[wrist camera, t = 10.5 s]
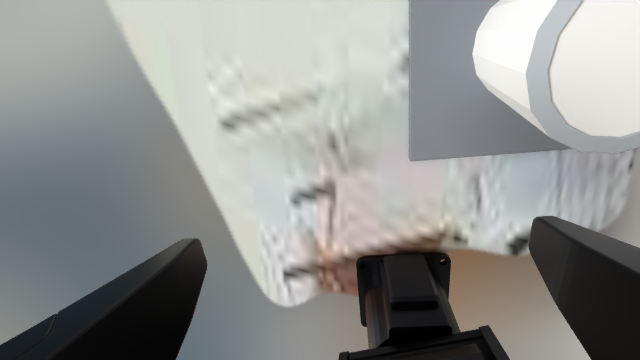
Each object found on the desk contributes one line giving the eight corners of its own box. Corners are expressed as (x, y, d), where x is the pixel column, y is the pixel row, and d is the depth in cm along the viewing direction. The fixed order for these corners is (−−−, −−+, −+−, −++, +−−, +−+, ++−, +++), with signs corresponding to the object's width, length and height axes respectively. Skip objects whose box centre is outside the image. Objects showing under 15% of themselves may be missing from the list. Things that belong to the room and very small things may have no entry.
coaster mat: (618, 140, 19) (626, 144, 19) (408, 157, 21) (410, 161, 20) (690, -123, 14) (704, -128, 14) (409, -80, 16) (411, -84, 15)
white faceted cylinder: (538, -71, 15) (681, -140, 9) (634, 25, 16) (818, 26, 10) (432, 61, 18) (482, 82, 11) (522, 134, 19) (613, 189, 13)
